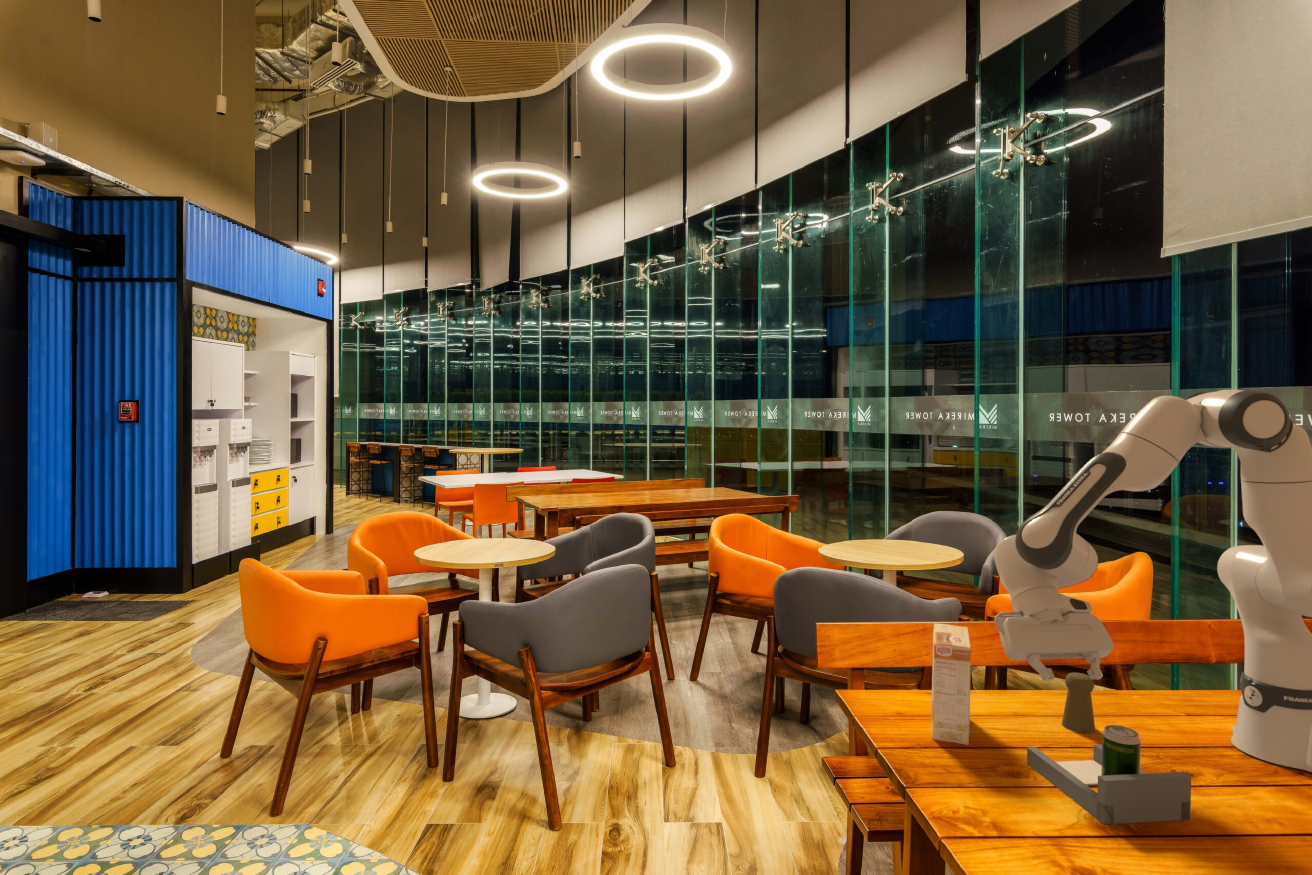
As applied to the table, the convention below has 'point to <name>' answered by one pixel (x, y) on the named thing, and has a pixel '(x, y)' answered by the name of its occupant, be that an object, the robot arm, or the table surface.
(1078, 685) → the cork
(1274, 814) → the table surface
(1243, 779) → the table surface
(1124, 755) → the beer can
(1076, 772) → the bay
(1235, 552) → the robot arm
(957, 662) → the coffeecake box
